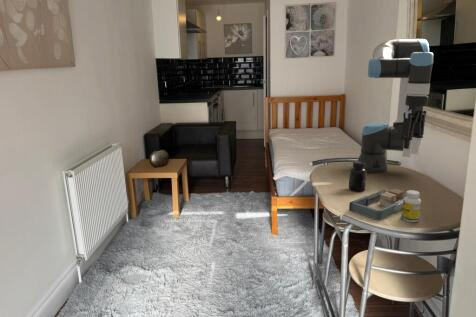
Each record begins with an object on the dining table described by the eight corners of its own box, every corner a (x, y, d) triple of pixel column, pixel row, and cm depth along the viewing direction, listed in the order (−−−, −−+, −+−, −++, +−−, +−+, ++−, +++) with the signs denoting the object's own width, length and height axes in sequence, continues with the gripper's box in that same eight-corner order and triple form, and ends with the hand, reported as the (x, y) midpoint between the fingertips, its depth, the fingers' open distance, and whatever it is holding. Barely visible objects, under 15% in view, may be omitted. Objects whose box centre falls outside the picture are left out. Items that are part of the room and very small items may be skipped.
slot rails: (382, 195, 144) (382, 190, 144) (412, 204, 135) (412, 198, 135) (362, 204, 136) (363, 197, 135) (393, 213, 127) (393, 207, 126)
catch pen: (365, 203, 137) (366, 195, 136) (395, 212, 128) (396, 204, 127) (349, 210, 130) (349, 202, 129) (379, 220, 121) (380, 212, 121)
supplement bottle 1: (366, 192, 148) (368, 164, 145) (349, 191, 149) (351, 163, 146) (364, 187, 155) (366, 160, 152) (347, 186, 156) (349, 159, 153)
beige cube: (385, 201, 138) (386, 192, 137) (395, 204, 135) (396, 194, 134) (379, 204, 136) (380, 194, 135) (389, 207, 133) (390, 197, 132)
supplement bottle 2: (398, 216, 125) (401, 189, 122) (413, 215, 125) (416, 189, 123) (406, 222, 119) (410, 195, 117) (422, 222, 120) (425, 194, 117)
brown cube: (393, 198, 142) (394, 188, 141) (403, 201, 139) (404, 191, 138) (387, 200, 139) (388, 190, 139) (397, 203, 136) (398, 193, 136)
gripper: (418, 93, 143) (412, 150, 148) (394, 95, 131) (388, 157, 137) (438, 94, 137) (430, 153, 143) (415, 97, 126) (408, 161, 131)
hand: (410, 155), depth 140 cm, fingers open, 6 cm apart
